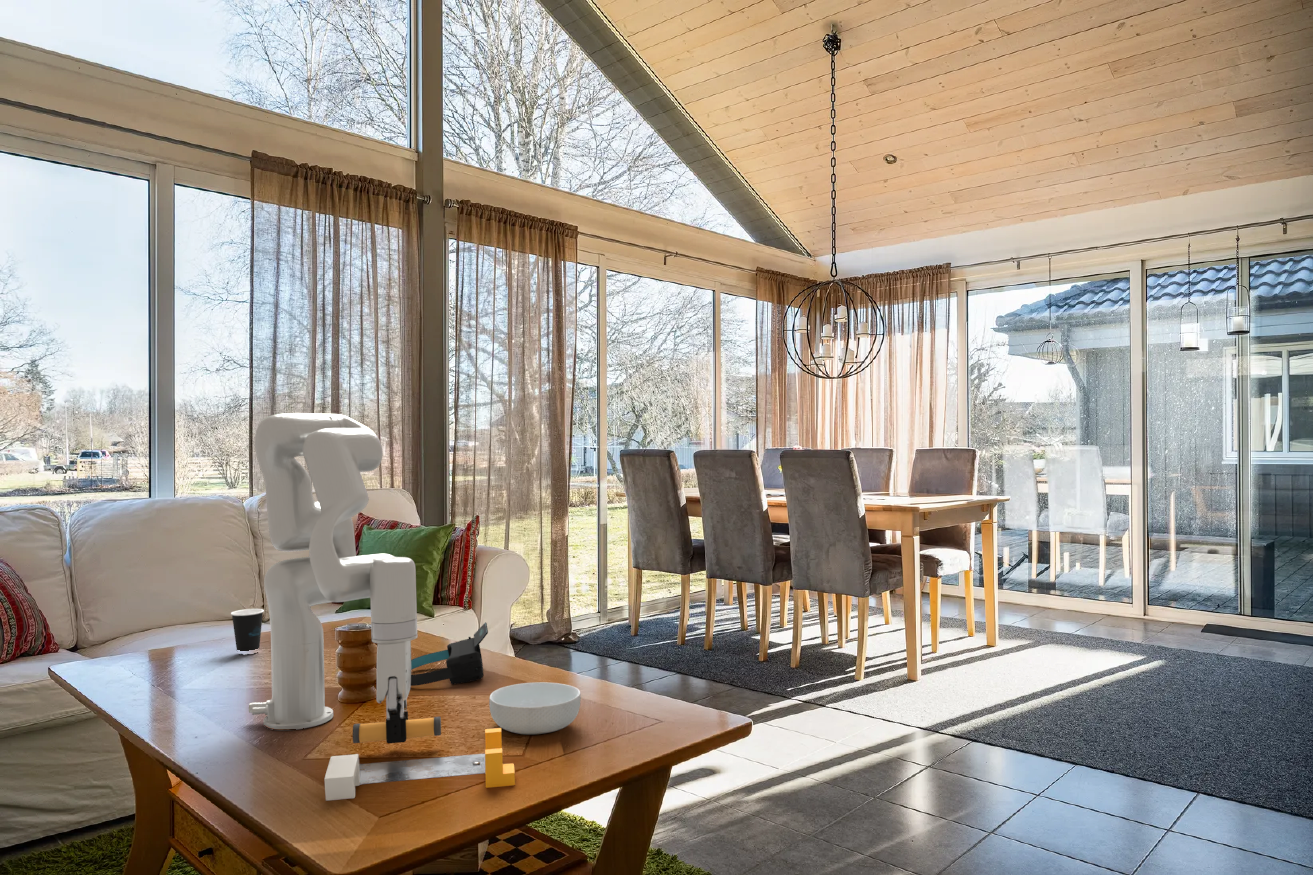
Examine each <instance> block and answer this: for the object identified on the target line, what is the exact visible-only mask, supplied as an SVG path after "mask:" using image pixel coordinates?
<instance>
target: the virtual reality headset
mask: <svg viewBox="0 0 1313 875" xmlns="http://www.w3.org/2000/svg"><path fill="white" fill-rule="evenodd" d="M488 633H489V631H488V622H484V623H483V624H482V626H480V627H479V628H478V630H476V631H475V632H474V634H473V637H471V636H468V638H466V639H461V640H459V641H455V642H451V643H449V644H447V646H446V647H447V649H444V650H439V651H435V652H431V653H428V654H424V655H421V656H417V657H415V658H411V671H412V670H414V669H417V668H419V667H422V666H425V665H428V664H431V663H437V662H440V661H445V660H446V662H445V663H446V664H445V665H446V667H445V668H441V669H436V670H432V671H427V672H423V673H417V674H411V686H410V687H412V686H413V687H414V686H423V685H427V684H432V683H437V682H440V681H441V682H442V681H445V680H449V682H450V684H451V685H458V684H463V683H469V682H474V681H477V680H482V679H483V677H484V666H483V665H484V664H483V658H482V650H481V646H480V643H482V641H484V639H485V637H486V636H487V635H488Z"/></svg>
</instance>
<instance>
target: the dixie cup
mask: <svg viewBox="0 0 1313 875" xmlns="http://www.w3.org/2000/svg"><path fill="white" fill-rule="evenodd" d="M264 612H265V610H264V609H262V608H245V609H238V610H234V611H231V612H230V616H231V617H232V624H233V626H232V627H233V631H234V632H233V634H234V640H235V647H236V651H237V650H240V651H249V650H255V649H258V648H259V649H260V644H261V634H262V626H263V613H264ZM259 649H258V650H259Z"/></svg>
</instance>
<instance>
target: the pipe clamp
mask: <svg viewBox="0 0 1313 875" xmlns="http://www.w3.org/2000/svg"><path fill="white" fill-rule="evenodd" d="M502 738H503V737H502V728H501V727H495V728H485V729H484V740H485V741H484V742H485V744H484V745H485V750H484V754H485V773H484V775H485V788H486V789H488V788H497V787H509V786H515V785H516V780H515V779H516V775H515V774H516V773H515V772H516V770H515V765H514V763H513V762H512V763H503V746H502V745H503V742H502Z"/></svg>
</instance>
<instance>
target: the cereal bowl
mask: <svg viewBox="0 0 1313 875" xmlns="http://www.w3.org/2000/svg"><path fill="white" fill-rule="evenodd" d="M581 698H582V696H581V691H580V689H579V688H578V687H576V686H573V685H570V684H564V683H561V682H560V683H558V682H546V681H544V682H543V681H542V682H540V681H539V682H524V683H523V682H522V683H516V684H511V685H507V686H503V687H500V688H497V689H496V690H494V691H492V692H491V693H490V695H489V699H488V700H489V712H490V715H491V718H492V720H493V721H494V722H495V723H496V725H497V726H498V727H499V728H501V729H503V730H505V731H508V732H509V733H510V732H511V733H514V734H519V735H541V734H548V733H549V734H550V733H553V732H556V731H560V730H562V729H564V728H566V727H568V726H569V725H571V724H572V723H573V722H574V720H575V719H576V718H577V716H578V714H579V711H580V708H581Z"/></svg>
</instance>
